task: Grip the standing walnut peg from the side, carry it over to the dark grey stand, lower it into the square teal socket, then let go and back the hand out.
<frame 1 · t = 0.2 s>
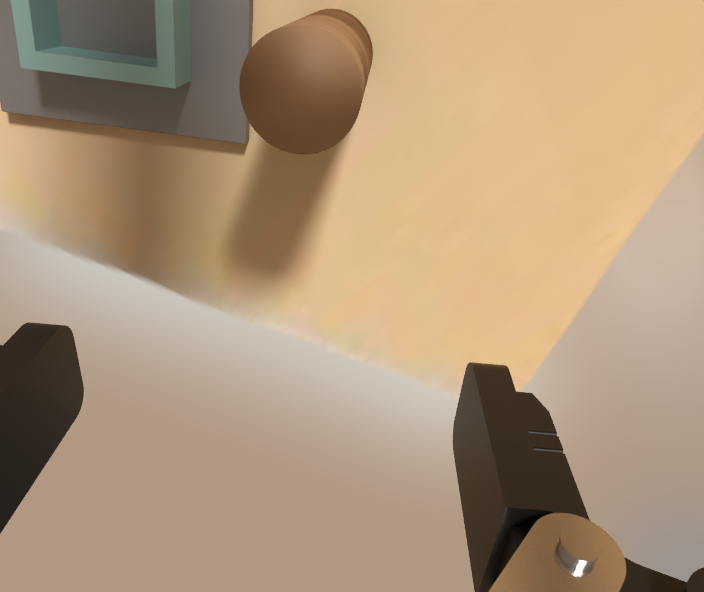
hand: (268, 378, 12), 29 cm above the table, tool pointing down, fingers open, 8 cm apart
walnut peg: (332, 53, 36), on the table
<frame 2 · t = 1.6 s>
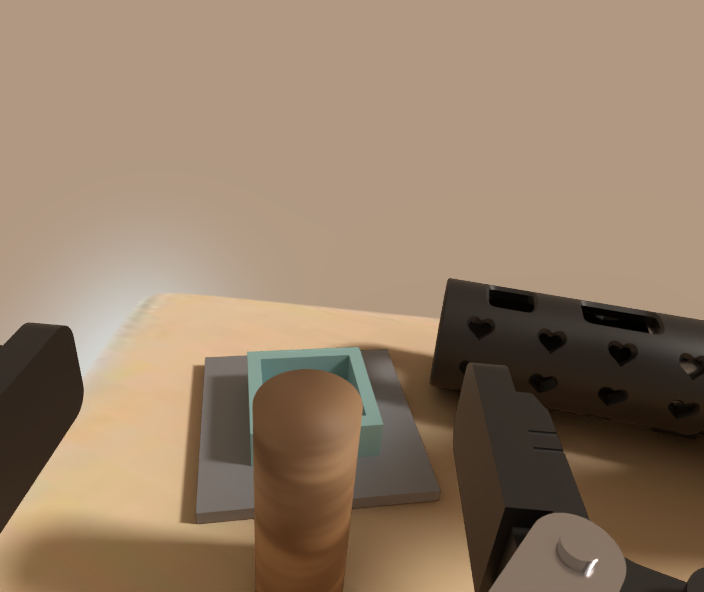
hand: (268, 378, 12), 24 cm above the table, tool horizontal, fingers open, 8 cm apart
walnut peg: (299, 586, 34), on the table
socket stand: (308, 425, 45), on the table
muzzle brake: (594, 417, 49), on the table
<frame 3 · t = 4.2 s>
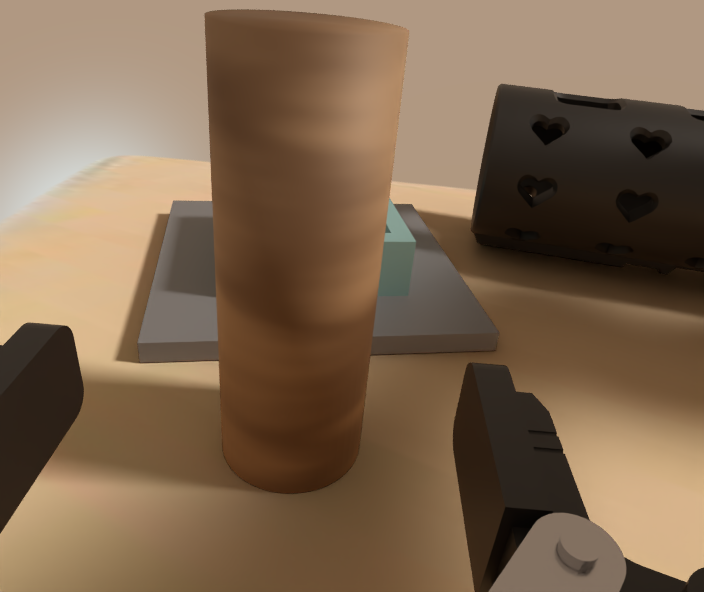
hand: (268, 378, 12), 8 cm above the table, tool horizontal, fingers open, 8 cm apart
walnut peg: (291, 439, 21), on the table
socket stand: (308, 271, 33), on the table
muzzle brake: (689, 282, 37), on the table
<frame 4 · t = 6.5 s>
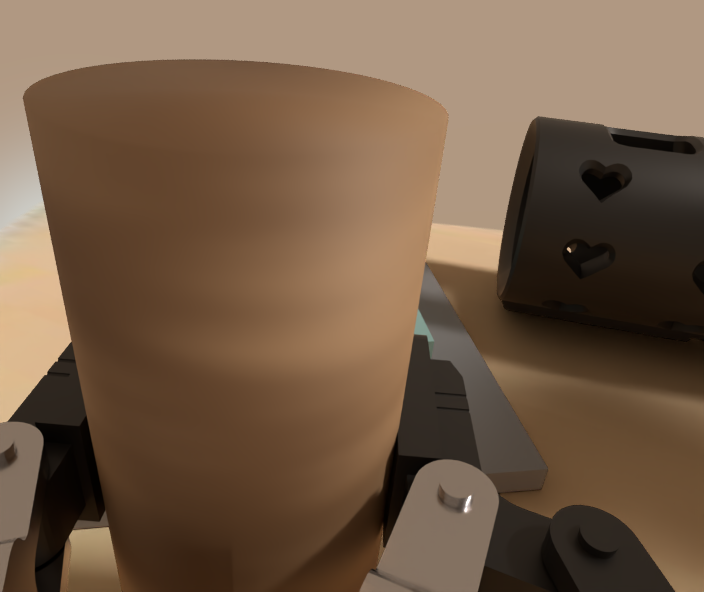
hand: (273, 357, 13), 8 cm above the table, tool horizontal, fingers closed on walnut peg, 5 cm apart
socket stand: (294, 360, 26), on the table
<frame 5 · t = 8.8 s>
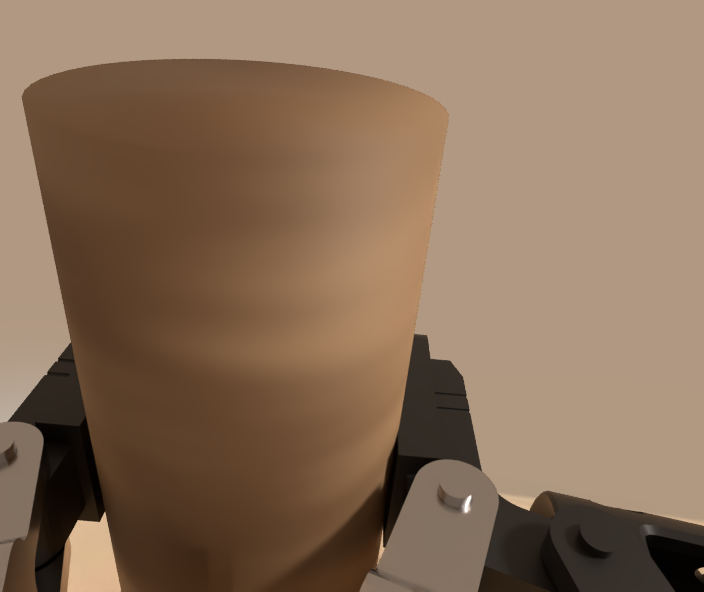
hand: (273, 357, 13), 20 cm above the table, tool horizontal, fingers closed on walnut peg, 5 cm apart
when the fingers open (10 cm above the table, at t = 11.6 s): walnut peg drops 1 cm, resting on socket stand.
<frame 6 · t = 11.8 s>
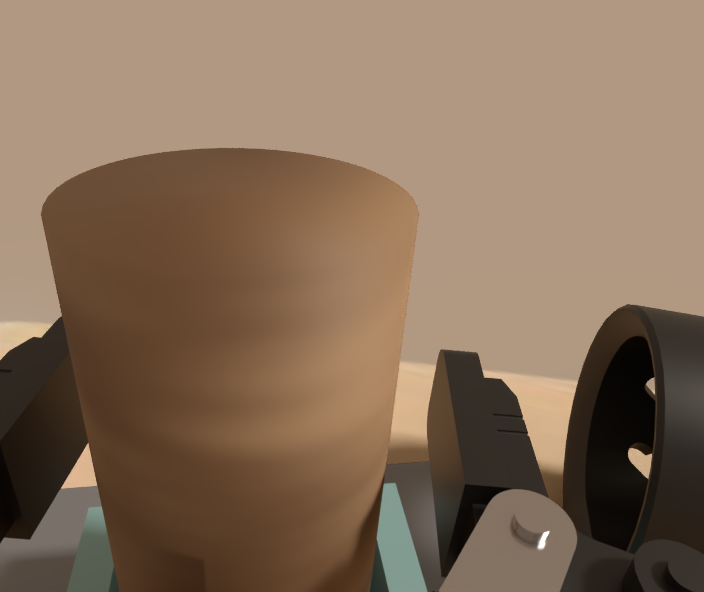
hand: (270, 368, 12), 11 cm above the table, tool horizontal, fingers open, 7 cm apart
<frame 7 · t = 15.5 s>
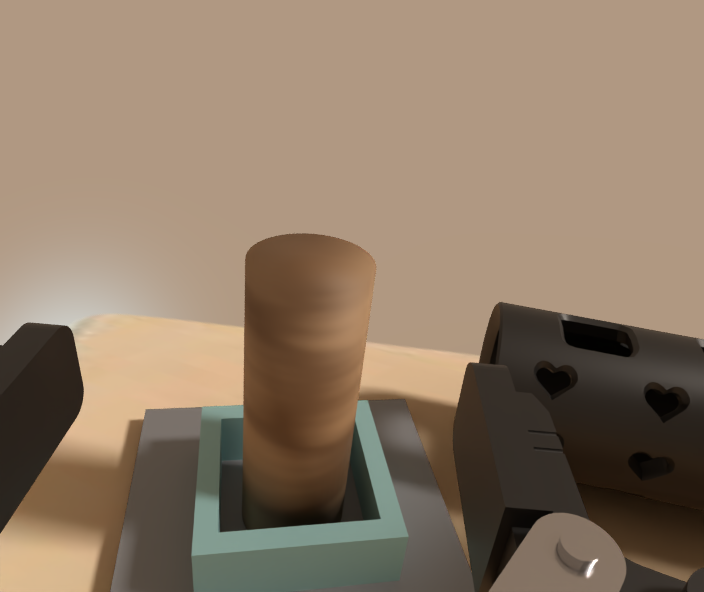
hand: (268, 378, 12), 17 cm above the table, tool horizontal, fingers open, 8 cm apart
walnut peg: (292, 509, 29), point 1 cm above the table, touching socket stand
socket stand: (290, 521, 30), on the table
muzzle brake: (703, 506, 34), on the table
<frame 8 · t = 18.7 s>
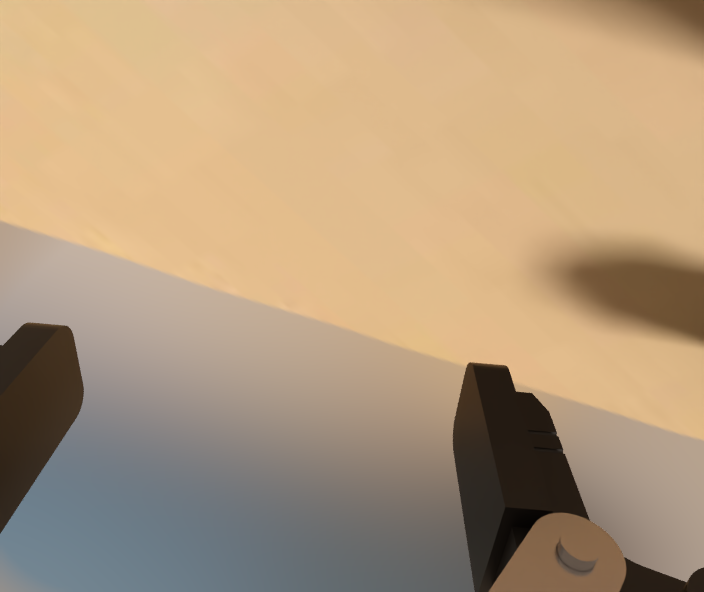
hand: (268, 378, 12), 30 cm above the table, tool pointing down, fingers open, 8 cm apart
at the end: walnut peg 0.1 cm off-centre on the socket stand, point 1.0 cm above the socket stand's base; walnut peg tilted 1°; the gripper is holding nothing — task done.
